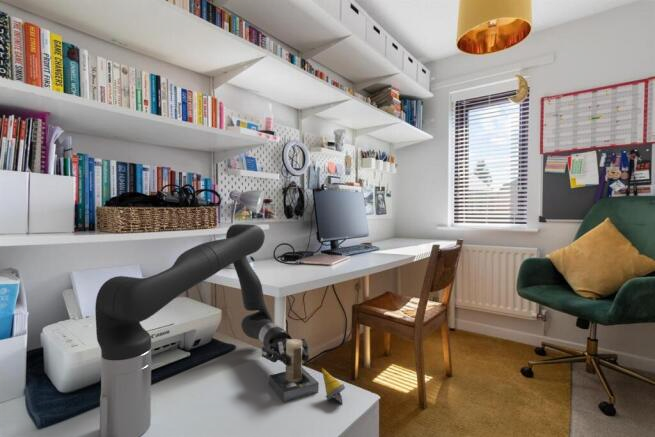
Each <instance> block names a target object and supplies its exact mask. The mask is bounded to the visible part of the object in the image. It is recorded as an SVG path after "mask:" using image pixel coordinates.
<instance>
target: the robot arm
mask: <svg viewBox="0 0 655 437" xmlns="http://www.w3.org/2000/svg"><path fill="white" fill-rule="evenodd" d="M265 240H266V239H265V232H264V230H263V229H262V228H261V227H260V226H258V225H256V224H251V223H250V224H249V223H245V224H244V223H243V224H242V223H240V224H239V223H238V224H232V225H230V226H229V228H228V229H227V231H226V234H225V238H221V239H216V240H211V241H208V242H203V243H200V244H198V245H195V246H193V247H191V248H189V249H187V250H185V251H184V252H182V253H181V254H180V255H179V256H178V257H176V260H175V261H174V263H173V264H172V266H170V267H169V268H168V269H166V270H163V271H161V272H158V273H156V274H153V275H151V276H148V277H141V278H140V277H135V276H134V277H133V276H124V275H120V276H119V275H118V276H114V277H111V278H109V279H108V280H106V281H105V282H104V283H103V284H102V285H101V286H100V287H99V290H98V292H97V295H96V299H95V307H94V308H95V313H94V314H95V328H96V341H97V343H98V346H99V347H100V353H101V354H100V355H101V357H100V358H101V359H100V360H101V372H100V373H101V374H100V376H101V379H100V384H101V385H100V386H101V387H100V397H99V437H141V436H142V435H144V434H145V433H146V432H147V431H148V430H149V428H150V426H151V421H152V420H151V417H152V413H151V412H152V410H151V409H152V408H151V406H152V404H151V403H152V397H151V396H152V395H151V394H152V336H151V334H150V333H149V332H148V331H147V330H145V328H144V327H143V326H142V324H141V322H143V321H145V320H147V319H150V317H152V316H154V315H155V314H157V313H158V312H159V311H160V310H162V309H163V308H165V307H166V306H167V305H168V304H169V303H171V302H172V301H174V300H175V299H176V298H177V297H179V296H180V295H182V294H183V293H185V292H187V291H189V290H191V289H192V288H193V287H195V286H197V285H198V284H200V283H202V282H204V281H206V280H208V279H209V278H211V277H212V276H214V275H216V274H217V273H218V272H220V271H221V270H224V269H225V268H227V267H229V266H230V265H233V267H234V270H235V272H236V274H237V275H236V276H237V278H238V281H239V286H240V290H241V297H242V302H243V303H242V304H243V307H244V309H245V310H246V311H249V312H252V311H257V312H254V313H251V314H248V315H246V316H244V317H243V318H242V320H241V322H240V323H241V324H240V326H241V329H242V332H243V333H244V334H245V336H247V337H248V338H251V339H254V340H258V341H259V342H260V344H262V347H261V357H262V358H264V359H266V360H268V361H270V362H272V363H277V362H278V361H279V362H281V363H283V365H285V366H286V365H287V366H291V357H290V356H288V355H287V354H286V342H287V341H288V340H291V339H293V338H292V336H291V335H290V334H289V332H287V331H286V330H285V329H284V328H282V327H281V326H280V325H278V324H277V323H275V322H273V318H272V316H271V314H270V312H269V310H268V308H267V306H266V302H265V298H264V293H263V292H264V290H263V285H262V283H261V280H260V278H259V276H258V275H257V273H256V272H255V270H254V269H253V267H252V266H251V264H250V262H249V261H248V257H247V256H250V255H251V254H254V253H256V252H258V251H259V250H261V248H263V245H264V243H265ZM300 340H301V341H302V362H304V363H308V361H309V359H310V358H309V357H310V356H309V354H310V353H309V345H308V342H307V340H306V339H305V338H301V339H300Z"/></svg>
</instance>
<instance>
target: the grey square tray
mask: <svg viewBox="0 0 655 437" xmlns="http://www.w3.org/2000/svg"><path fill="white" fill-rule="evenodd" d="M300 382H302V383H301V384H298V385H293V386H290V387H287V386H286V385H285V384H288V383H289V382H288V381H286V370H285V371H283V372H279V373H277V372H276V373H273V374H271V375H269V385H270V387H271V388H272V389H273V391H275V393H276V394H277V395H278V397H279V398H280V399H281V401H282V402H283V403H286V402H290V401H294V400H296V399H299V398H303V397H306V396H308V395H312V394H316V393H319V392H318V391H319V389H320V388H319V387H320V386H319V381H318V380H317V379H316V378H314V377H313V375H312V374H310V373H309V372H308V371H307V370H306V369H305V368H304V367H302V379H301V380H300Z"/></svg>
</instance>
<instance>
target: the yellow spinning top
mask: <svg viewBox="0 0 655 437" xmlns="http://www.w3.org/2000/svg"><path fill="white" fill-rule="evenodd" d="M321 371H322V372H321V373H322V376H323V383H324V385H325V386H324V387H325V393H326V395H325V398H326V399H327V401H329V400H331V399H333V398H334V399H335V400H337V401H338V402H339V403H340V404H341V403H342V404H343V396H342V394H341V393H342V392H343V391H344V390H345V388H346V386H345V384H343V383H341V382H339V381H338V380H337V379H336V378H335V377H334V376H333V375H331V374H330V373H329V372H328V371H326V369H324V368H323V367H322V368H321ZM342 404H341V405H342Z"/></svg>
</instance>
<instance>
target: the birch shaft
mask: <svg viewBox="0 0 655 437" xmlns="http://www.w3.org/2000/svg"><path fill="white" fill-rule="evenodd" d="M286 354H287V355H288V356H290V357H291V366H287V365H285V371H286V381H288V382H287V383H291V384H292V383H299V382H301V379H302V368H303V360H302V341H301V339H298V338H292V339H291V340H288V341H287V342H286Z"/></svg>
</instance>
